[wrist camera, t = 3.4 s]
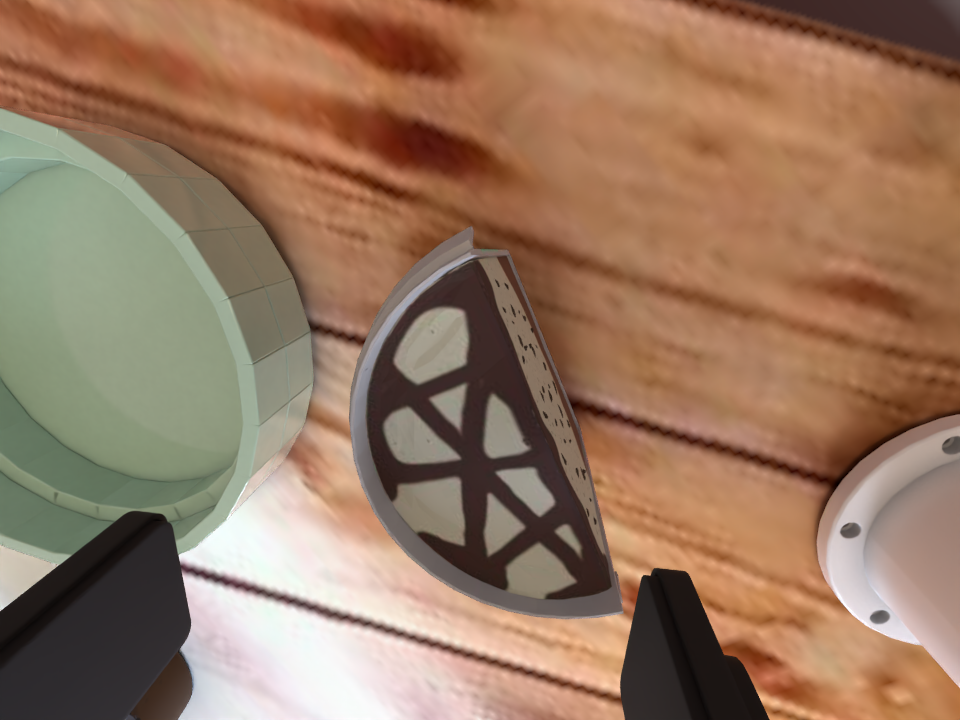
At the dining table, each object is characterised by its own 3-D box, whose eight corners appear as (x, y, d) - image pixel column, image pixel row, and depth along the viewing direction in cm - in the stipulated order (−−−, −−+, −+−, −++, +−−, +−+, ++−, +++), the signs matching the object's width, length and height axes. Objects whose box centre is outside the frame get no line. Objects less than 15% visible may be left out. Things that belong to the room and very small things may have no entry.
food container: (371, 271, 22) (246, 326, 12) (495, 216, 20) (460, 229, 11) (478, 490, 25) (443, 668, 15) (591, 455, 23) (629, 626, 14)
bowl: (305, 135, 20) (226, 113, 15) (328, 517, 26) (277, 594, 21) (-100, 116, 22) (-299, 90, 17) (12, 479, 28) (-106, 543, 23)
